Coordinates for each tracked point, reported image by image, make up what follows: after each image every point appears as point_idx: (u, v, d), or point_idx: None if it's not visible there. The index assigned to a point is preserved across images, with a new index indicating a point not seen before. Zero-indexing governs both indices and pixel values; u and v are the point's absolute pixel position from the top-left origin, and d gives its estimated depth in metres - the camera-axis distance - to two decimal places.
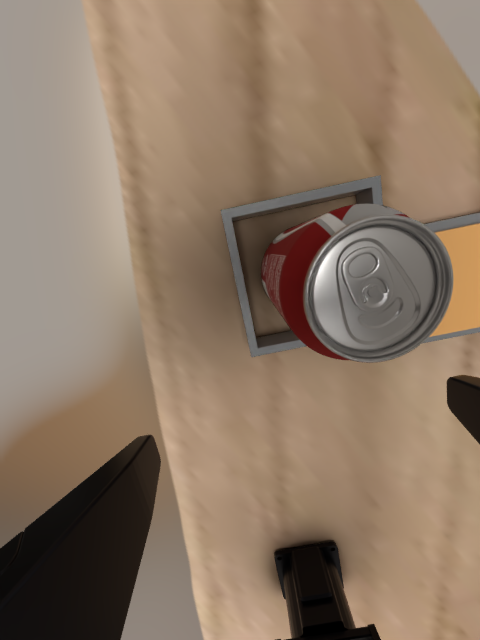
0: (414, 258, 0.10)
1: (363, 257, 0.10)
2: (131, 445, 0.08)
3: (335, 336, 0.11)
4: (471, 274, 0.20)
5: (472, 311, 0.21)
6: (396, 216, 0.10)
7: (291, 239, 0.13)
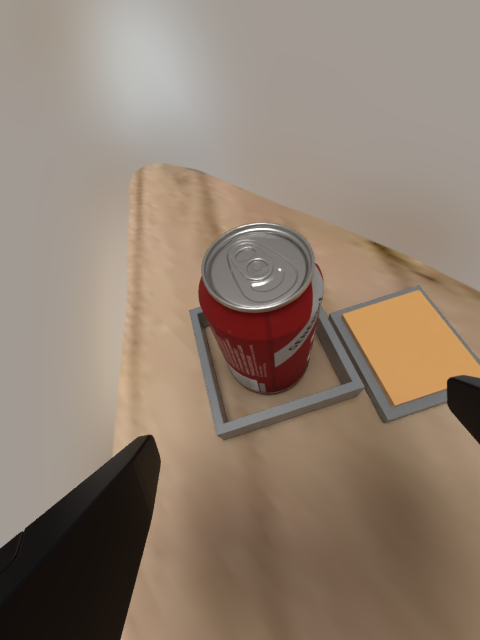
0: (281, 244, 0.14)
1: (245, 251, 0.15)
2: (131, 445, 0.08)
3: (233, 300, 0.13)
4: (424, 331, 0.21)
5: (450, 365, 0.20)
6: None
7: None
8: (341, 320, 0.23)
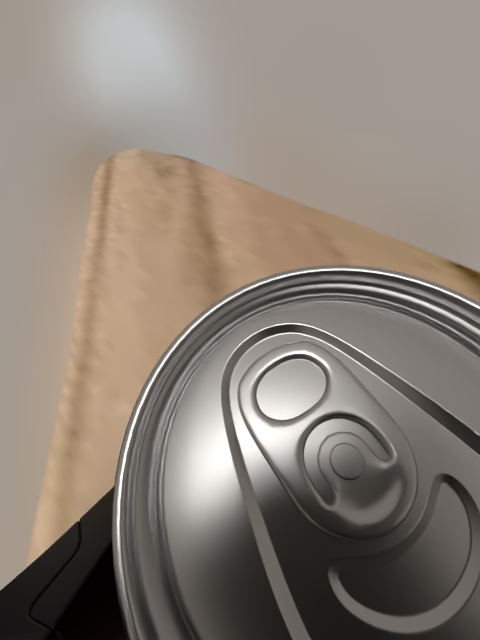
0: (423, 353, 0.04)
1: (288, 367, 0.04)
2: None
3: None
4: None
5: None
6: (323, 266, 0.04)
7: None
8: None
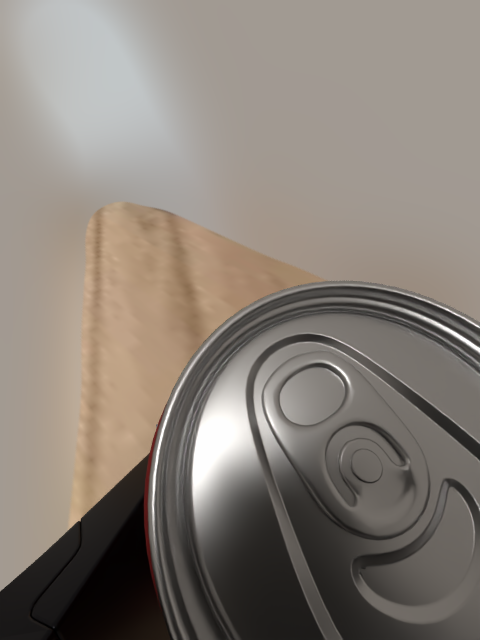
0: (432, 368, 0.04)
1: (309, 375, 0.04)
2: None
3: None
4: None
5: None
6: (345, 281, 0.05)
7: None
8: None
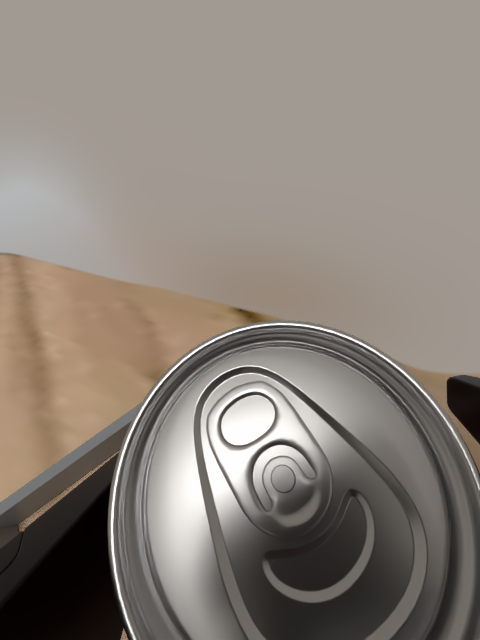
0: (349, 394, 0.05)
1: (247, 402, 0.05)
2: None
3: (204, 638, 0.04)
4: None
5: None
6: (277, 321, 0.05)
7: None
8: None
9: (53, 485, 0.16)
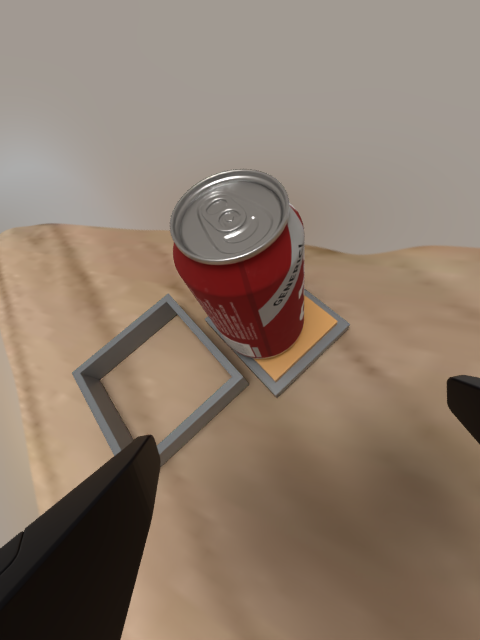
0: (253, 191, 0.13)
1: (216, 203, 0.13)
2: (131, 444, 0.08)
3: (205, 254, 0.12)
4: None
5: (309, 324, 0.22)
6: None
7: None
8: None
9: (119, 349, 0.25)
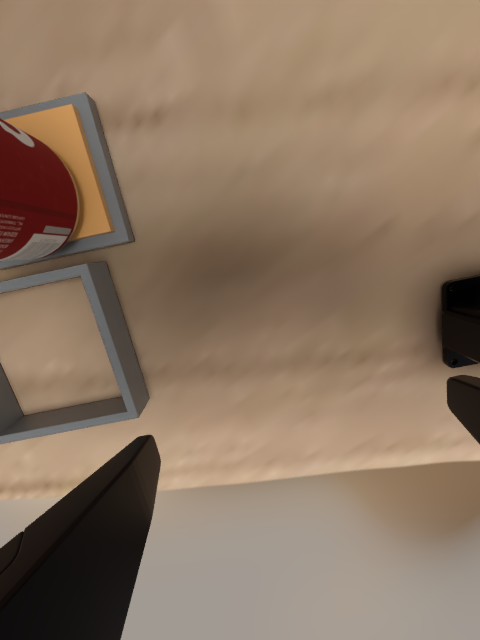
0: None
1: None
2: (131, 444, 0.08)
3: None
4: None
5: (59, 144, 0.16)
6: None
7: None
8: None
9: None
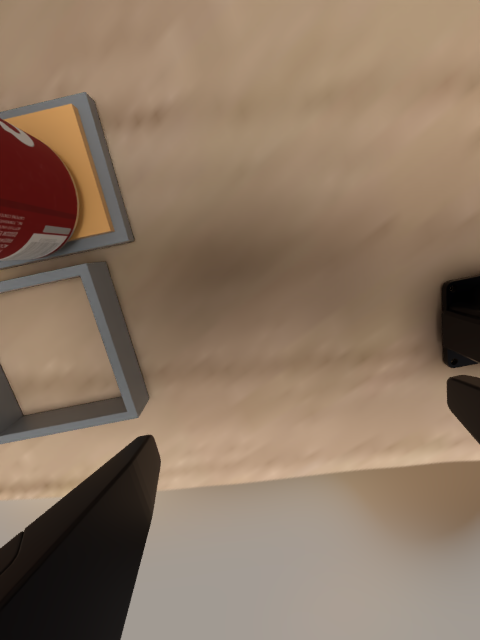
0: None
1: None
2: (131, 444, 0.08)
3: None
4: None
5: (59, 143, 0.16)
6: None
7: None
8: None
9: None
